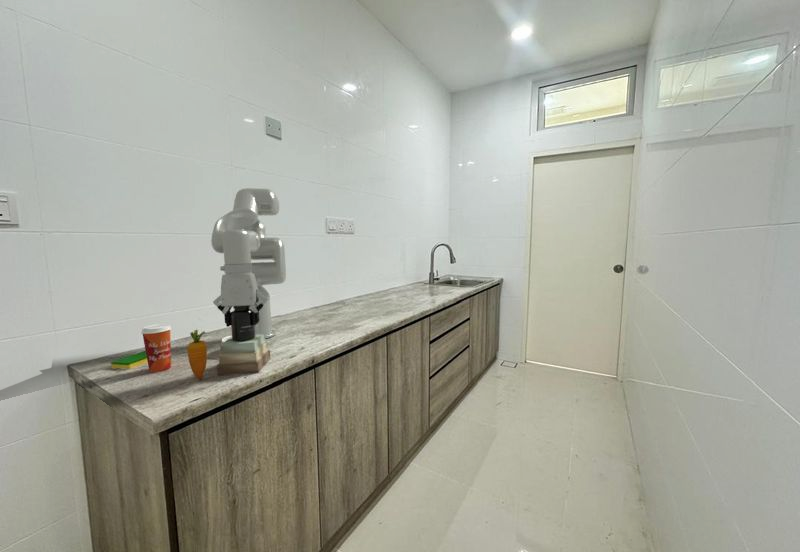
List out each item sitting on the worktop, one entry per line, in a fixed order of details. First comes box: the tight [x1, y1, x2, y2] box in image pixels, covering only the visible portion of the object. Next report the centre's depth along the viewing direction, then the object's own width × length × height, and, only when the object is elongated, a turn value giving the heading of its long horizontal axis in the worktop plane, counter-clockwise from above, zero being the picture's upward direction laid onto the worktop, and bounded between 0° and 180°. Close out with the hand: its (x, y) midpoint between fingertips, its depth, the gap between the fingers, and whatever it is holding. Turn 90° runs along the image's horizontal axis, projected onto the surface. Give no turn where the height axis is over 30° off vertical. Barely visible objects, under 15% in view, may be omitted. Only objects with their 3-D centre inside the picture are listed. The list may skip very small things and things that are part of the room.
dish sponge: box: [110, 350, 148, 370], centre depth 112 cm, size 7×14×2 cm, turn 169°
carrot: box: [186, 329, 208, 381], centre depth 94 cm, size 5×5×15 cm
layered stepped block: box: [216, 334, 271, 376], centre depth 104 cm, size 12×12×9 cm
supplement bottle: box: [230, 306, 255, 341], centre depth 103 cm, size 7×7×12 cm
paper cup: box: [140, 323, 172, 373], centre depth 103 cm, size 8×8×14 cm
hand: (242, 324), depth 103 cm, fingers open, 7 cm apart
